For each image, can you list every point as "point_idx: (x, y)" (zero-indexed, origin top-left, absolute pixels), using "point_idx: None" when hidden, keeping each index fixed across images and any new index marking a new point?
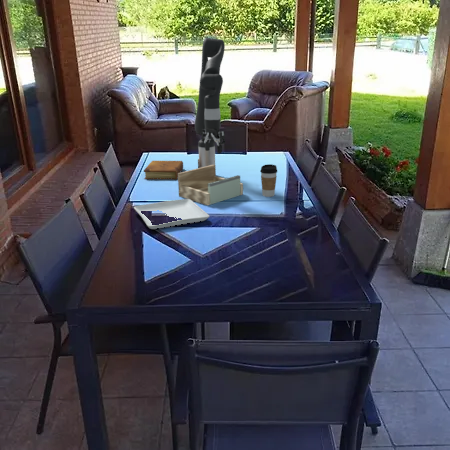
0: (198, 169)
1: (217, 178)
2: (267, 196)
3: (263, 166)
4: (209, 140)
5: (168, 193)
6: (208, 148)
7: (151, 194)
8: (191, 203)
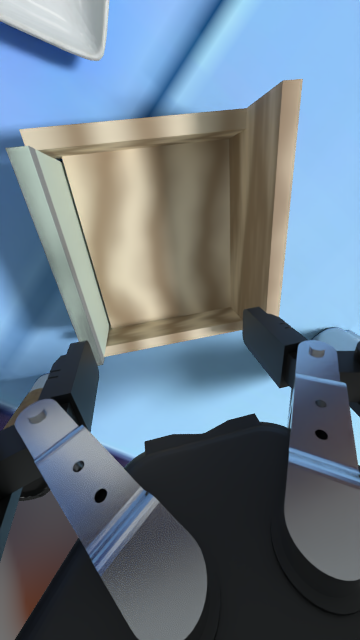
0: (269, 254)
1: (221, 323)
2: (38, 379)
3: None
4: (289, 409)
5: (301, 113)
6: (251, 340)
7: (353, 23)
8: (33, 23)
